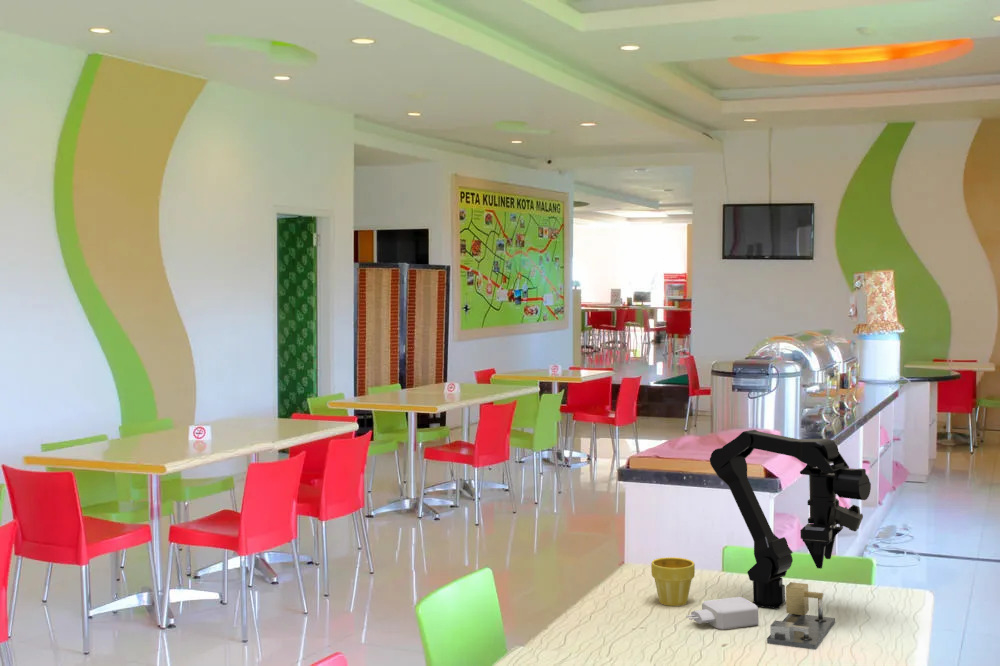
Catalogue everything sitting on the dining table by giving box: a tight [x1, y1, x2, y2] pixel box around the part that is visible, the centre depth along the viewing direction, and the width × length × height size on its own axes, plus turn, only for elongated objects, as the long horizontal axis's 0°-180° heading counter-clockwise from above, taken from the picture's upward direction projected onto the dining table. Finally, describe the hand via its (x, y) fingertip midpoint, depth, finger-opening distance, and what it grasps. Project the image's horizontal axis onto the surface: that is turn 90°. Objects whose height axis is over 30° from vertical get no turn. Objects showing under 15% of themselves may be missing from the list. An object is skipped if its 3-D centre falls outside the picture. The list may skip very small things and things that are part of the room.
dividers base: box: [766, 613, 836, 650], centre depth 229 cm, size 10×20×4 cm, turn 151°
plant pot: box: [650, 556, 696, 607], centre depth 255 cm, size 10×10×10 cm
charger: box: [685, 596, 760, 631], centre depth 237 cm, size 5×9×15 cm
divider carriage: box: [785, 582, 824, 620], centre depth 236 cm, size 8×4×7 cm, turn 61°
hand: (823, 563), depth 240 cm, fingers open, 9 cm apart
